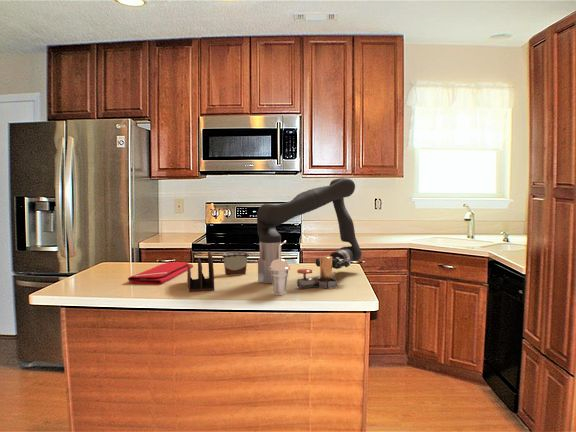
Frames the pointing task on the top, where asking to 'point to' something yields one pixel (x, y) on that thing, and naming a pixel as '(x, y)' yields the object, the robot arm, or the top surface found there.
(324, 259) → the copper cylinder
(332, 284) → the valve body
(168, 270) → the dish drying mat
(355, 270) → the top surface
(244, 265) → the food container
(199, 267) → the letter holder
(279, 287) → the cup with straw
